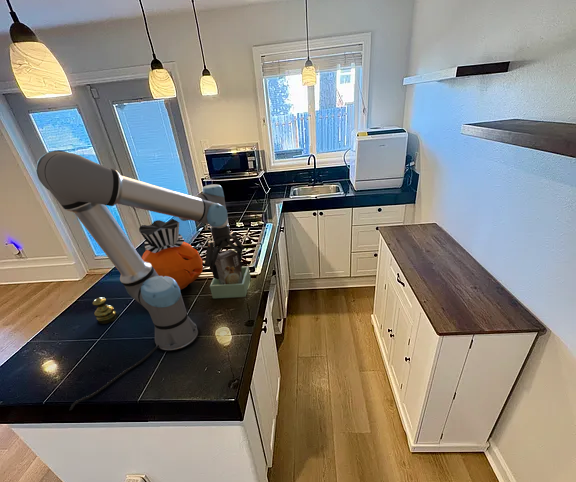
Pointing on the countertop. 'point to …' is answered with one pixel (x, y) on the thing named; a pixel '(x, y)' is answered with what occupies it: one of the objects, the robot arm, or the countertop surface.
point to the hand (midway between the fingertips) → (228, 272)
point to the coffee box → (229, 268)
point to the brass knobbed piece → (104, 311)
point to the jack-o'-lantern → (171, 252)
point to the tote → (231, 286)
